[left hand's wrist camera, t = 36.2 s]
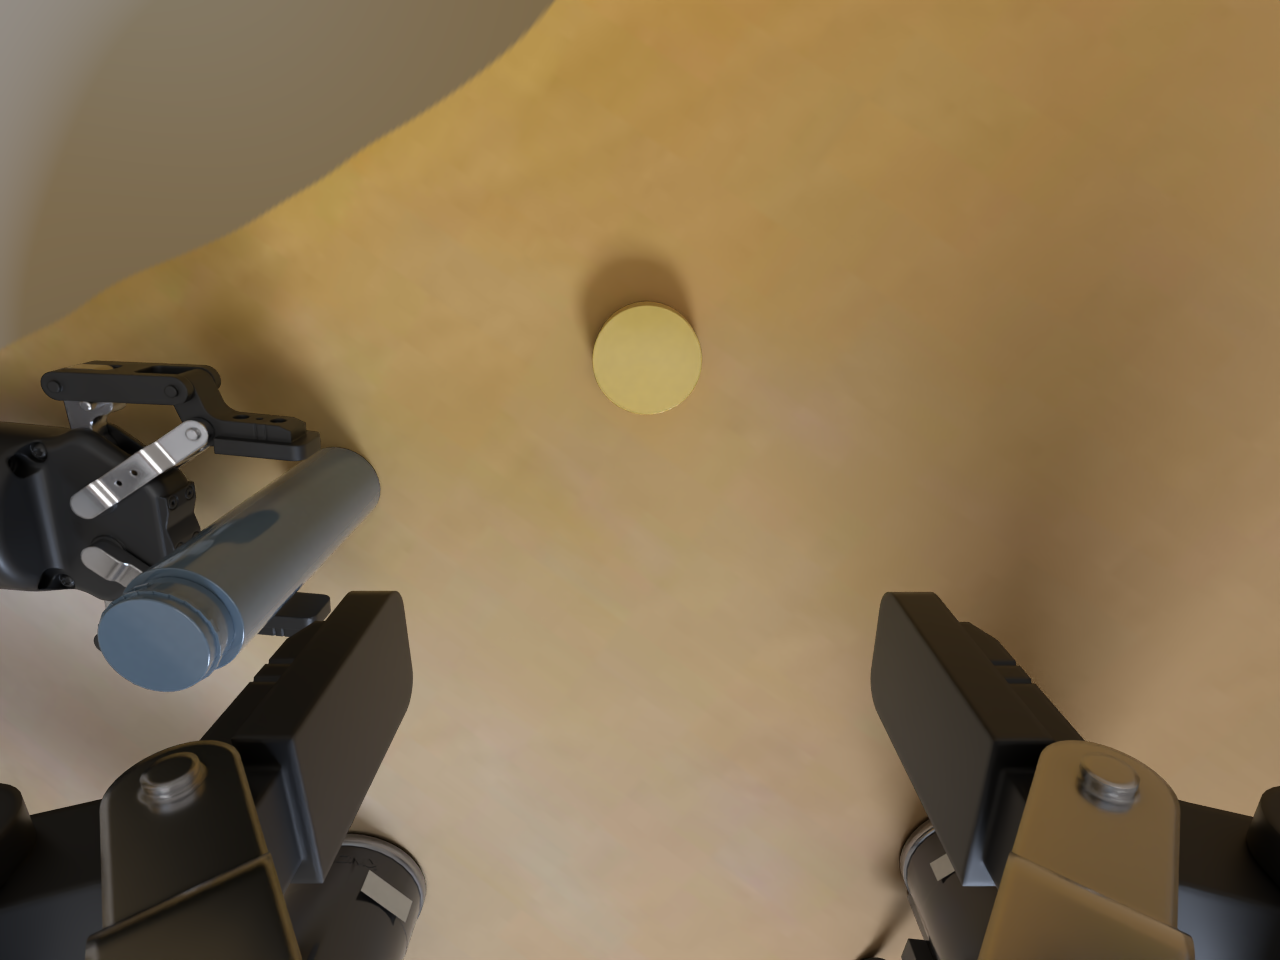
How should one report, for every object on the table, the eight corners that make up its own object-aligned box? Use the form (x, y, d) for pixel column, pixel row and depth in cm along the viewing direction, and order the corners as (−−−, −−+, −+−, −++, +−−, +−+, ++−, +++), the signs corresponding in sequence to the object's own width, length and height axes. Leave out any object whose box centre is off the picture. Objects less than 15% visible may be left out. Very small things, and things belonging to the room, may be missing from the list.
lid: (579, 382, 36) (575, 389, 34) (618, 283, 34) (617, 286, 32) (672, 421, 37) (674, 431, 35) (716, 327, 35) (720, 332, 33)
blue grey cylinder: (316, 432, 37) (104, 568, 22) (392, 470, 38) (236, 626, 23) (288, 499, 38) (72, 667, 24) (363, 534, 39) (197, 718, 24)
